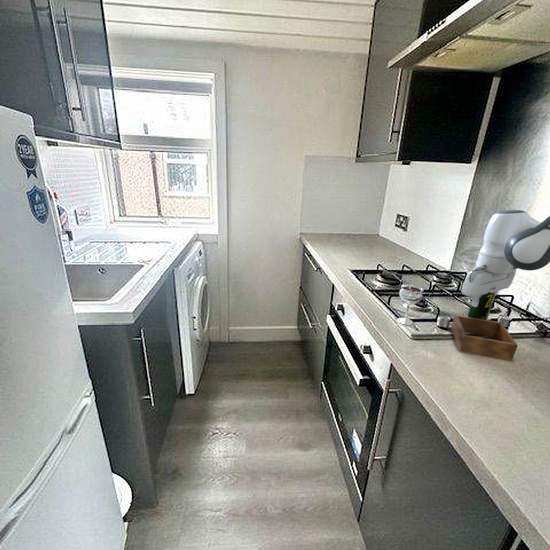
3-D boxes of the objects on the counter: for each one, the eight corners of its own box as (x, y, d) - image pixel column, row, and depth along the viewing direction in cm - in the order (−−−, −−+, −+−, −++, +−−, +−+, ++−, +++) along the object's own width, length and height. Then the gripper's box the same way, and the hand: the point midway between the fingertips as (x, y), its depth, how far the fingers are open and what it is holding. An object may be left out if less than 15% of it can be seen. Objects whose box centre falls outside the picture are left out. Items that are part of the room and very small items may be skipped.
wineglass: (393, 314, 104) (399, 282, 99) (414, 317, 102) (421, 285, 98) (394, 324, 97) (401, 290, 93) (417, 328, 96) (425, 293, 91)
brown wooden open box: (496, 336, 92) (501, 322, 90) (512, 361, 81) (518, 345, 79) (450, 328, 96) (454, 314, 94) (459, 351, 85) (464, 335, 83)
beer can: (463, 318, 99) (473, 284, 95) (471, 314, 102) (481, 281, 98) (481, 325, 95) (492, 291, 91) (489, 320, 98) (500, 287, 94)
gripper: (483, 271, 85) (470, 315, 90) (523, 262, 93) (510, 302, 98) (462, 264, 90) (451, 306, 95) (502, 256, 98) (490, 295, 104)
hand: (481, 304), depth 97 cm, fingers closed on beer can, 5 cm apart
